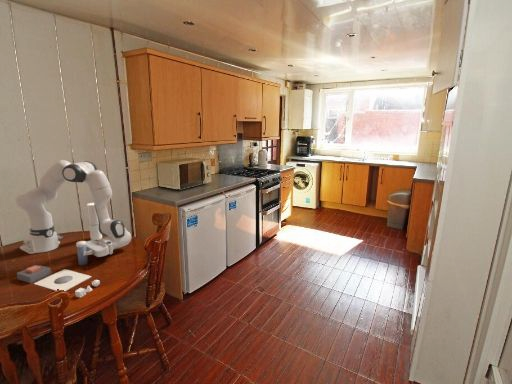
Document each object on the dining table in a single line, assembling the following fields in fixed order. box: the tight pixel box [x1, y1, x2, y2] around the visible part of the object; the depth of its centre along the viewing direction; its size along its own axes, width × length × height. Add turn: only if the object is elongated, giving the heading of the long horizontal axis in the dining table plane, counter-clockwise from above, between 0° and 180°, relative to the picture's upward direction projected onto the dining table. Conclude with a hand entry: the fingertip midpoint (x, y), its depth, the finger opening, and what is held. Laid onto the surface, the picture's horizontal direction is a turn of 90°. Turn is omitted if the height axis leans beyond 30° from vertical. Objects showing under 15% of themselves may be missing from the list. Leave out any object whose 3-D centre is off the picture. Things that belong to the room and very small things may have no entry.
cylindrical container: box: [86, 202, 103, 241], centre depth 197 cm, size 7×7×25 cm
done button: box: [26, 264, 41, 274], centre depth 147 cm, size 4×4×3 cm
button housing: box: [16, 264, 52, 284], centre depth 147 cm, size 10×10×4 cm
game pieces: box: [74, 279, 101, 299], centre depth 137 cm, size 12×3×3 cm, turn 163°
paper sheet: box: [33, 268, 92, 292], centre depth 145 cm, size 20×16×1 cm
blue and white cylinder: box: [75, 240, 89, 266], centre depth 161 cm, size 5×5×13 cm
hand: (80, 252), depth 160 cm, fingers closed on blue and white cylinder, 4 cm apart
